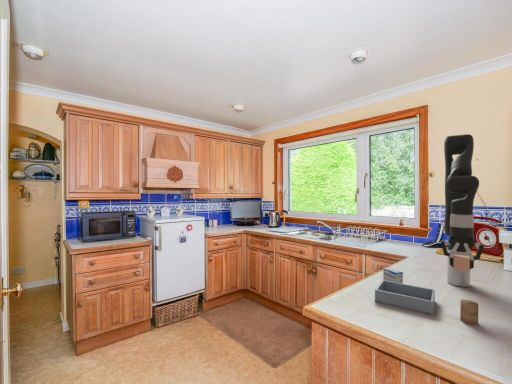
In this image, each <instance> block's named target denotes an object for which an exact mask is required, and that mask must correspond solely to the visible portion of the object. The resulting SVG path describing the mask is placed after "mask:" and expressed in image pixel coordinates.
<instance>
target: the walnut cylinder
mask: <svg viewBox="0 0 512 384" xmlns="http://www.w3.org/2000/svg"><path fill="white" fill-rule="evenodd" d="M459 314H460V319H459V320H460V322H462V323H464V324H466V325H469V326H478V325H479V303H478V302H476V301H474V300H470V299H460V312H459Z"/></svg>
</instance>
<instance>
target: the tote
mask: <svg viewBox="0 0 512 384" xmlns="http://www.w3.org/2000/svg"><path fill="white" fill-rule="evenodd" d="M374 302H375V303H378V304H379V303H380V304H384V305H389V306H393V307H398V308H401V309H405V310H410V311H414V312H418V313H422V314H426V315H431V316H434V313H433V312H434V311H435V304H436V303H435V302H436V290H435V289H433V288H428V287H422V286H417V285H412V284H406V283H403V284H402V283H396V282H391V281H386V280H383V279H381V281H380V283H378V285H377V286H376V288H375V289H374Z"/></svg>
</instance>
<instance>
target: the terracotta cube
mask: <svg viewBox="0 0 512 384" xmlns="http://www.w3.org/2000/svg"><path fill="white" fill-rule="evenodd" d="M454 270H461V271H468V272H470V273H471V270H470V258H469V256H463V255H454Z"/></svg>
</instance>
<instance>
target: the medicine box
mask: <svg viewBox="0 0 512 384" xmlns="http://www.w3.org/2000/svg"><path fill="white" fill-rule="evenodd" d="M382 273H383V275H382V276H383V277H382V278H383V279H382V280H386V281H391V282H396V283H402V284H404V272H403V271H400V270H397V269H395V268H391V267H384V268H383V271H382Z"/></svg>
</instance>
